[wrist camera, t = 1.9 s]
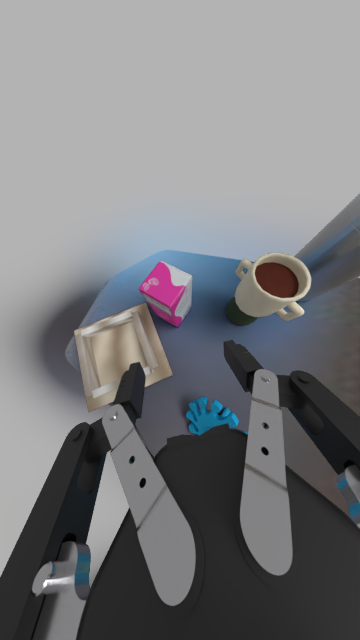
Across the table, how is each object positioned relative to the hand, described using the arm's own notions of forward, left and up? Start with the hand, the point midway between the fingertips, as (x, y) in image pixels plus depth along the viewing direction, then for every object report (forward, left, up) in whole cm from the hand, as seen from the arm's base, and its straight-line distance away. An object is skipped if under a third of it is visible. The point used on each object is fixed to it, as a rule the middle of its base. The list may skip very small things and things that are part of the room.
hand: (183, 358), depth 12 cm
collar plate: (+11, -6, -14) cm, 19 cm away
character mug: (-15, -4, -15) cm, 21 cm away
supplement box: (-2, -10, -15) cm, 18 cm away
